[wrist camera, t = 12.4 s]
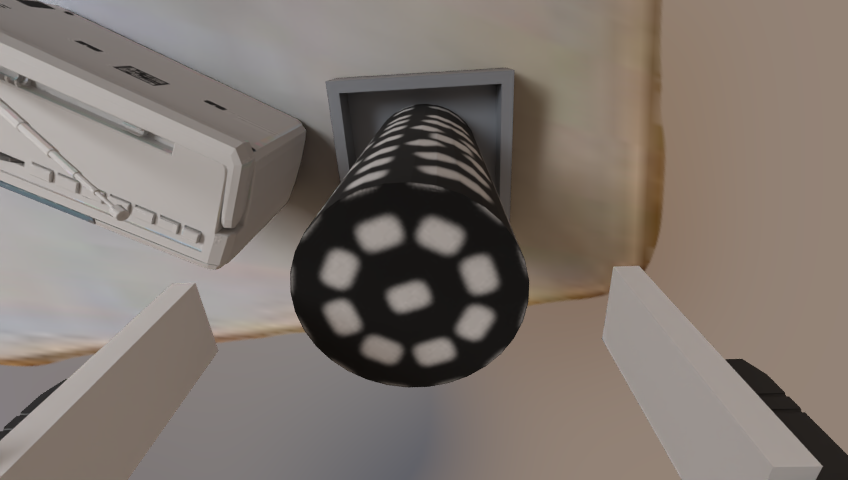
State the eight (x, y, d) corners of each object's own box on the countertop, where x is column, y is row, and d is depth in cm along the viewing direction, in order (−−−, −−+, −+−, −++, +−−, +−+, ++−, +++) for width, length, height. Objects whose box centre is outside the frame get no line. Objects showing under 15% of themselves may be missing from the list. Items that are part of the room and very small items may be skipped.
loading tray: (336, 78, 31) (325, 81, 28) (506, 67, 30) (514, 70, 27) (357, 232, 36) (350, 249, 33) (502, 226, 36) (509, 243, 33)
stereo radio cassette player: (35, 94, 32) (-479, 151, 14) (43, -18, 29) (-606, -127, 11) (290, 205, 36) (136, 368, 17) (322, 117, 32) (176, 202, 14)
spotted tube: (458, 86, 30) (487, 142, 12) (491, 188, 34) (554, 354, 15) (355, 127, 32) (244, 232, 14) (396, 221, 35) (351, 408, 17)
